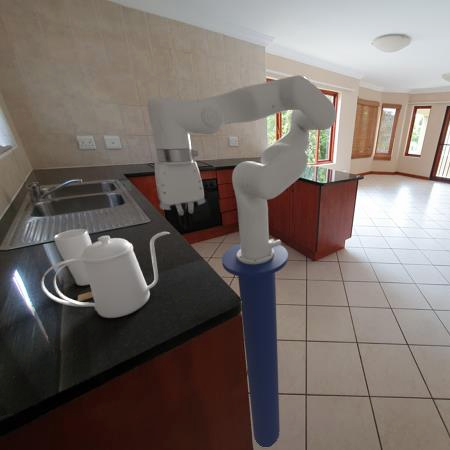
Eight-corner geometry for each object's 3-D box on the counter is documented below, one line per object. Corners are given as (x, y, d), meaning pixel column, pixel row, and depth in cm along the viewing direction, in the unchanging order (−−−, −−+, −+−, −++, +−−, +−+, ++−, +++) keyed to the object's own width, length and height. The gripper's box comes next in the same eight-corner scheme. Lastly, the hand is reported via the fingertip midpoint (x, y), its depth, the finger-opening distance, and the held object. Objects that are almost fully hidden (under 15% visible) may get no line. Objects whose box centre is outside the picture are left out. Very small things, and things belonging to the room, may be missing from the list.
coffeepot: (185, 296, 63) (172, 231, 56) (56, 341, 49) (17, 263, 42) (177, 276, 71) (164, 218, 64) (64, 311, 57) (32, 241, 50)
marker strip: (116, 285, 67) (115, 284, 67) (116, 290, 65) (116, 289, 64) (78, 296, 62) (78, 295, 62) (77, 302, 60) (77, 301, 60)
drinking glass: (71, 281, 68) (51, 233, 62) (101, 271, 73) (85, 226, 67) (75, 291, 64) (54, 241, 58) (106, 280, 69) (89, 233, 63)
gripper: (202, 153, 64) (210, 217, 70) (136, 156, 55) (153, 228, 62) (212, 156, 58) (220, 225, 65) (140, 159, 49) (158, 238, 56)
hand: (187, 226), depth 63 cm, fingers closed
